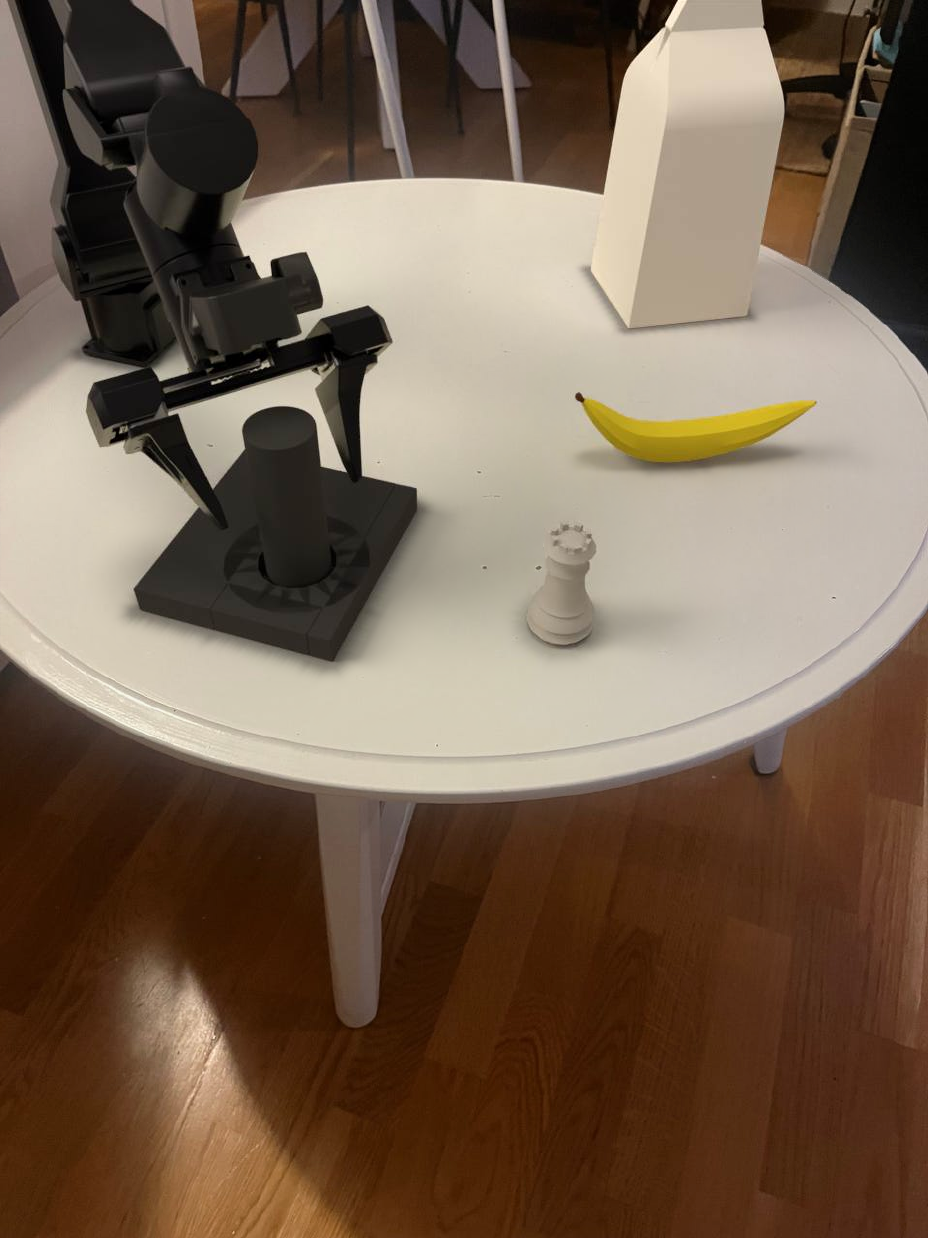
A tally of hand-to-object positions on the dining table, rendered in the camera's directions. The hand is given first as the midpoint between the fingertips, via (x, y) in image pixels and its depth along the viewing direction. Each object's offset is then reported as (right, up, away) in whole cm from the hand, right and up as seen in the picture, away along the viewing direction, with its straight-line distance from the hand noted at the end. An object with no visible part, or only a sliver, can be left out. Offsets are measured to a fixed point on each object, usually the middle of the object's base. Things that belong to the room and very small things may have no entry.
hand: (293, 504), depth 62 cm
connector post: (0, -5, +6) cm, 7 cm away
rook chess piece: (+17, -8, +4) cm, 19 cm away
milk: (+31, +25, +35) cm, 53 cm away
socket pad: (-2, -3, +7) cm, 8 cm away
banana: (+28, +6, +16) cm, 33 cm away
